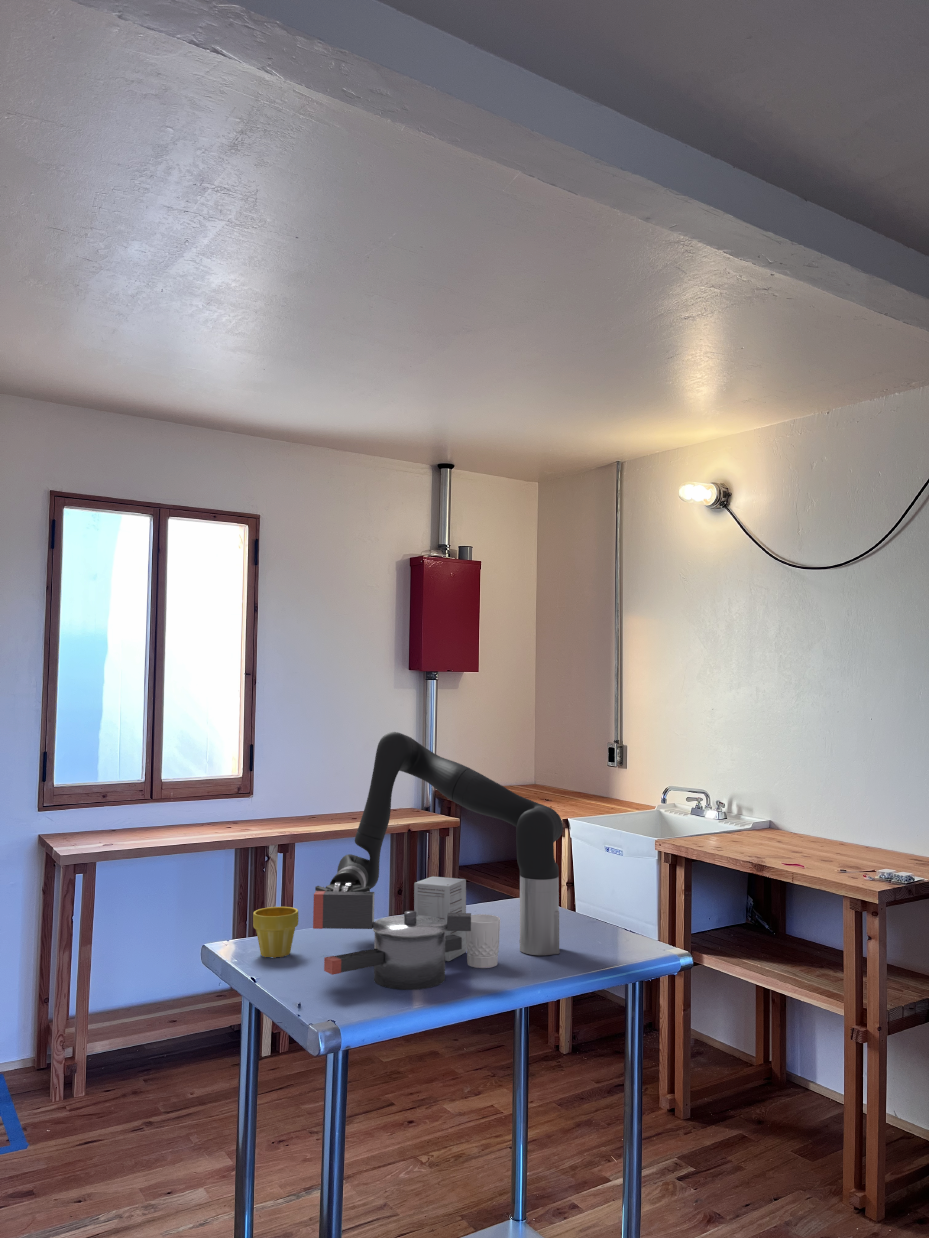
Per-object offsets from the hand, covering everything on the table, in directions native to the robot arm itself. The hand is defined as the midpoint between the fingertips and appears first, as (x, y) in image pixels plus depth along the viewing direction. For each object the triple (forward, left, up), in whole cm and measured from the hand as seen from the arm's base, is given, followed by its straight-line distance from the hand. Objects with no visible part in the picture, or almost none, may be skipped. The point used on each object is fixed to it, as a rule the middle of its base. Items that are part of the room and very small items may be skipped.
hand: (336, 900), depth 196 cm
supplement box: (-21, -18, -16) cm, 32 cm away
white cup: (-31, -11, -16) cm, 37 cm away
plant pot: (+17, -15, -16) cm, 27 cm away
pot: (-14, +3, -15) cm, 21 cm away
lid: (-12, +1, -5) cm, 13 cm away
